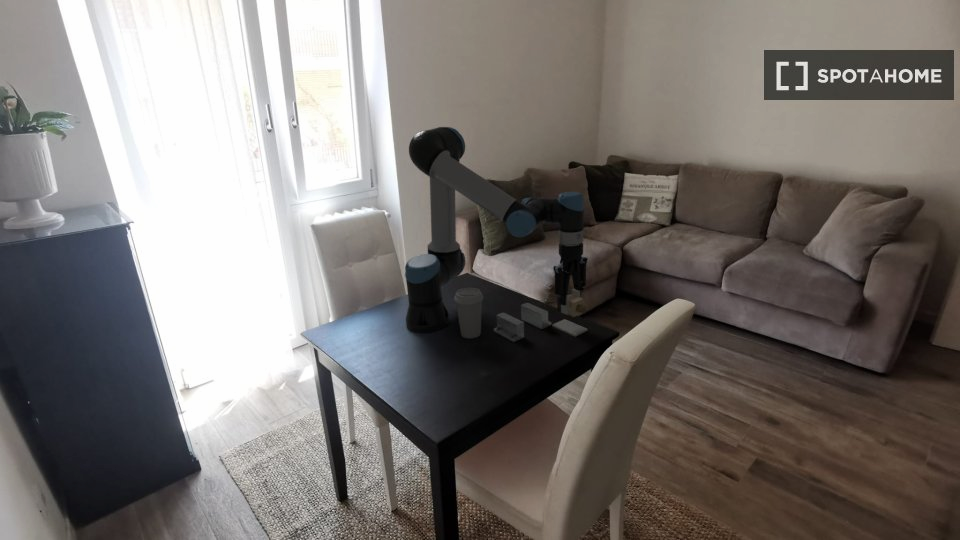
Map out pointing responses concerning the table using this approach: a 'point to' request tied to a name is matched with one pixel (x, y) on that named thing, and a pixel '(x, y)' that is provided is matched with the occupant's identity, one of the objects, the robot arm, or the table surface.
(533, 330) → the table surface
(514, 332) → the dark grey boxy pieces
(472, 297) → the coffee cup
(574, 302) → the tan piece
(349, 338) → the table surface
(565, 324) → the mat
